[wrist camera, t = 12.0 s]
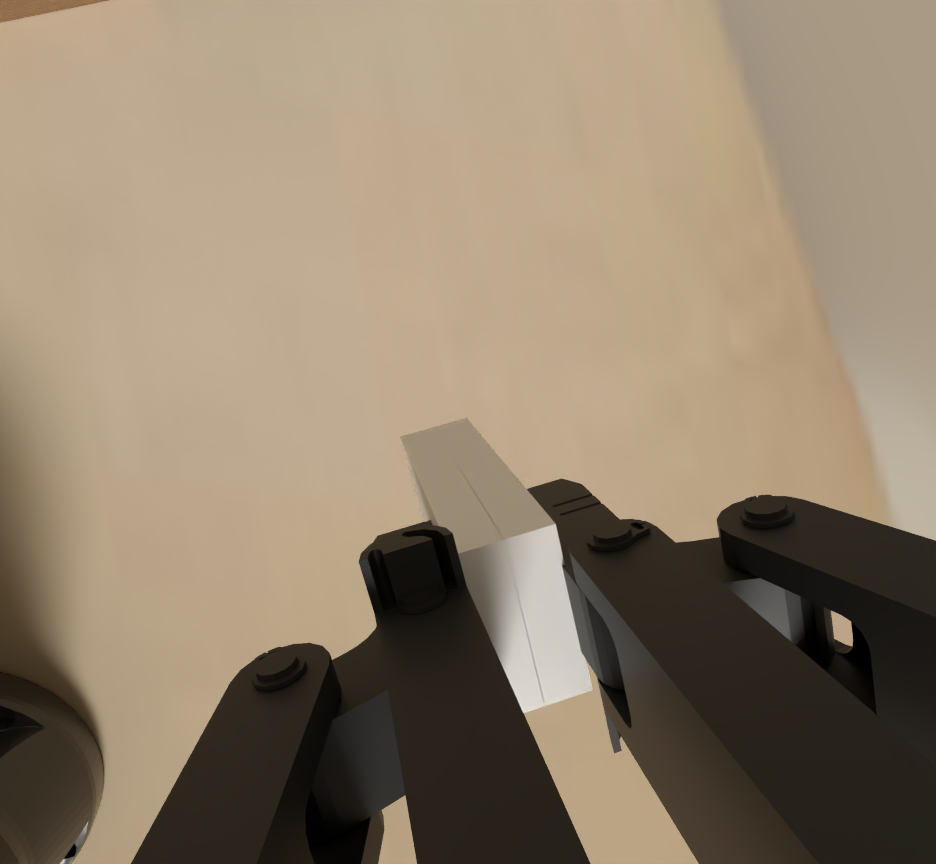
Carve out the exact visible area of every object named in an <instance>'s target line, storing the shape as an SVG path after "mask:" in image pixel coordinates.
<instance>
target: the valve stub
mask: <svg viewBox="0 0 936 864" xmlns="http://www.w3.org/2000/svg"><path fill="white" fill-rule="evenodd" d="M102 1H107V0H0V22H5V21H9V20H14V19H19V18H24V17H29V16H34V15H39V14H44V13H48V12H53V11H58V10H63V9H68V8H73V7H78V6H82V5H87V4H92V3H97V2H102Z"/></svg>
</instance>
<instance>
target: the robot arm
mask: <svg viewBox="0 0 936 864" xmlns="http://www.w3.org/2000/svg"><path fill="white" fill-rule="evenodd" d="M400 438H401V441H402V445H403V448H404V452H405V456H406V459H407V463H408V467H409V470H410V474H411V477H412V481H413V485H414V488H415V492H416V496H417V499H418V503H419V506H420V510H421V514H422V517H423V521H424V522H422V523H419V524H416V525H412V526H409V527H406V528H402V529H399V530H396V531H392V532H389V533H386V534H382V535H379V536H377V538H376V539H375V541H374V542H373V543H372V544H370V545H369V546H368V547H367V548H366V549H365V550H364V551H363V552H362V553H361V556H360V559H359V564H360V567H361V571H362V574H363V577H364V580H365V584H366V587H367V590H368V594H369V597H370V600H371V603H372V607H373V610H374V613H375V618H376V623H377V627H376V629H375V630H374V631H373V632H372V634H371V635H370V636H369V637H368V638H367V639H366V640H364V641H363V642H362V643H361V644H359V645H358V646H357V647H355V648H353V649H352V650H350V651H348V652H347V653H345V654H343V655H341V656H339V657H337V658H335V659H333V660H332V659H331V656H330V653H329V652H328V651H327V650H326V649H325V648H324V647H323V646H320V645H316V644H312V643H303V644H292V645H289V646H285V647H277V648H275V649H272V650H270V651H268V653H266V652H265V653H263V654H262V655H260V656H258V657H256V658H255V660H253V661H252V662H251V663H249V664H248V665H247V666H245V667H244V668H243V669H241V670H240V671H239V673H238V674H237V675H236V676H235V678H234V679H233V680H232V681H231V682H230V684H229V686H228V688H227V690H226V692H225V693H224V695H223V697H222V699H221V701H220V702H219V704H218V706H217V708H216V710H215V712H214V713H213V715H212V717H211V719H210V721H209V723H208V724H207V726H206V728H205V730H204V732H203V733H202V735H201V737H200V739H199V741H198V743H197V744H196V746H195V748H194V750H193V752H192V754H191V755H190V757H189V759H188V761H187V763H186V764H185V766H184V768H183V770H182V772H181V774H180V775H179V777H178V779H177V781H176V783H175V784H174V786H173V788H172V790H171V792H170V794H169V795H168V797H167V799H166V801H165V803H164V805H163V806H162V808H161V810H160V812H159V814H158V815H157V817H156V819H155V821H154V823H153V825H152V826H151V828H150V830H149V832H148V834H147V835H146V837H145V839H144V841H143V843H142V845H141V846H140V848H139V850H138V852H137V854H136V856H135V857H134V859H133V861H132V863H131V864H378V861H379V855H380V850H381V844H382V839H383V834H384V819H383V814H382V811H381V810H382V809H384V808H385V807H387V806H388V805H390V804H392V803H393V802H395V801H396V800H398V799H400V798H401V797H403V796H404V795H406V800H407V806H408V812H409V818H410V824H411V830H412V836H413V842H414V847H415V853H416V859H417V864H590V862H589V859H588V857H587V855H586V853H585V851H584V848H583V846H582V844H581V842H580V839H579V837H578V835H577V833H576V830H575V828H574V826H573V824H572V821H571V819H570V817H569V815H568V812H567V810H566V808H565V806H564V803H563V801H562V799H561V797H560V794H559V792H558V790H557V788H556V785H555V783H554V781H553V779H552V776H551V774H550V772H549V770H548V767H547V765H546V763H545V761H544V758H543V756H542V754H541V752H540V749H539V747H538V745H537V743H536V740H535V738H534V736H533V734H532V731H531V729H530V727H529V725H528V722H527V720H526V718H525V716H524V714H523V713H526V712H529V711H532V710H535V709H538V708H541V707H544V706H547V705H550V704H553V703H556V702H559V701H562V700H565V699H567V698H570V697H573V696H576V695H579V694H582V693H585V692H588V691H591V690H593V689H592V684H591V680H590V675H589V671H588V666H587V662H588V663H589V665H590V666H591V668H592V669H593V671H594V672H595V674H596V676H597V679H598V684H599V688H600V693H601V697H602V702H603V706H604V711H605V715H606V720H607V725H608V729H609V734H610V738H611V743H612V747H613V750H614V753H616V752H619V751H621V746H620V741H619V739H620V737H622V738H623V740H624V742H625V743H626V745H627V746H628V748H629V750H630V751H631V753H632V755H633V756H634V758H635V760H636V761H637V763H638V765H639V766H640V768H641V769H642V771H643V773H644V774H645V776H646V778H647V779H648V781H649V783H650V784H651V786H652V787H653V789H654V791H655V792H656V794H657V796H658V797H659V799H660V801H661V802H662V804H663V806H664V807H665V809H666V810H667V812H668V814H669V815H670V817H671V819H672V820H673V822H674V824H675V825H676V827H677V828H678V830H679V832H680V833H681V835H682V837H683V838H684V840H685V842H686V843H687V845H688V847H689V848H690V850H691V851H692V853H693V855H694V856H695V858H696V860H697V861H698V863H699V864H936V541H935V540H932V539H928V538H925V537H922V536H919V535H915V534H912V533H909V532H906V531H903V530H899V529H896V528H893V527H890V526H887V525H883V524H880V523H877V522H874V521H870V520H867V519H864V518H861V517H858V516H854V515H851V514H848V513H845V512H841V511H838V510H835V509H832V508H829V507H825V506H822V505H819V504H816V503H812V502H809V501H806V500H803V499H798V498H792V497H787V496H772V495H760V496H758V498H757V497H756V496H754V497H749V498H746V499H745V500H744V501H741V502H738V503H735V504H732V505H730V506H729V507H727V508H726V509H724V510H723V511H721V513H720V515H719V516H718V518H717V525H718V531H719V537H718V538H711V539H704V540H697V541H690V542H678V543H675V542H674V541H673V540H672V539H671V538H669V537H668V536H667V535H666V534H665V533H664V532H662V531H661V530H660V529H659V528H658V527H657V526H655V525H653V524H651V523H649V522H647V521H641V520H634V519H623V520H620V519H619V518H617V517H616V516H615V515H614V514H613V513H612V512H611V511H610V510H609V509H608V508H607V507H606V506H605V505H603V504H601V502H600V501H599V500H598V499H597V498H596V497H595V496H592V493H590V492H589V491H588V490H587V489H586V488H585V487H584V486H583V485H582V484H580V483H576V482H572V481H568V480H565V479H559V480H555V481H552V482H549V483H545V484H542V485H539V486H535V487H532V488H529V489H526V488H525V487H524V486H523V484H522V483H521V482H520V481H519V480H518V478H517V477H516V476H515V475H514V474H513V472H512V471H511V470H510V469H509V468H508V467H507V465H506V464H505V463H504V462H503V461H502V459H501V458H500V457H499V456H498V455H497V453H496V452H495V451H494V450H493V449H492V447H491V446H490V445H489V444H488V443H487V442H486V440H485V439H484V438H483V437H482V436H481V434H480V433H479V432H478V431H477V430H476V428H475V427H474V426H473V425H472V424H471V422H470V421H469V420H468V419H467V418H465V419H462V420H458V421H454V422H451V423H447V424H444V425H440V426H437V427H433V428H430V429H426V430H423V431H419V432H416V433H412V434H409V435H405V436H402V437H400ZM831 610H832V611H834V612H836V613H838V614H840V615H842V616H844V617H845V618H847V619H848V620H850V621H851V624H852V633H853V647H852V646H848V645H845V644H843V643H841V642H839V641H837V640H835V639H834V634H833V626H832V617H831ZM586 660H587V662H586ZM103 786H104V772H103V764H102V759H101V755H100V752H99V749H98V746H97V744H96V742H95V740H94V738H93V736H92V734H91V732H90V731H89V729H88V727H87V726H86V725H85V723H84V722H83V721H82V719H81V718H80V717H79V716H78V715H77V714H76V713H75V712H74V711H73V710H72V709H71V708H70V707H69V706H68V705H67V704H66V703H64V702H63V701H62V700H60V699H59V698H58V697H56V696H55V695H53V694H52V693H50V692H48V691H47V690H45V689H43V688H41V687H39V686H37V685H35V684H33V683H31V682H28V681H25V680H23V679H20V678H17V677H14V676H10V675H6V674H2V673H0V864H71V863H72V862H73V861H74V859H75V858H76V856H77V855H78V853H79V852H80V850H81V848H82V847H83V845H84V843H85V841H86V839H87V837H88V835H89V833H90V830H91V827H92V825H93V822H94V819H95V817H96V814H97V811H98V809H99V806H100V802H101V799H102V794H103Z"/></svg>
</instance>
